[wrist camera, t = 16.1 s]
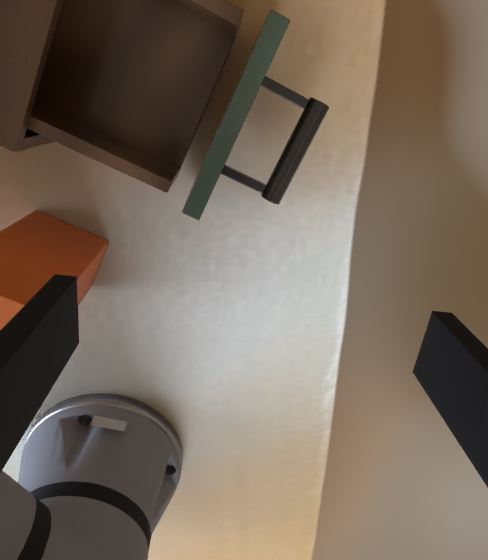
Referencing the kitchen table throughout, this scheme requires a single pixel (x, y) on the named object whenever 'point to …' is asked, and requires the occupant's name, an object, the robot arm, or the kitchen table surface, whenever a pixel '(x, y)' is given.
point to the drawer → (161, 90)
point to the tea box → (44, 259)
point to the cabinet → (23, 66)
